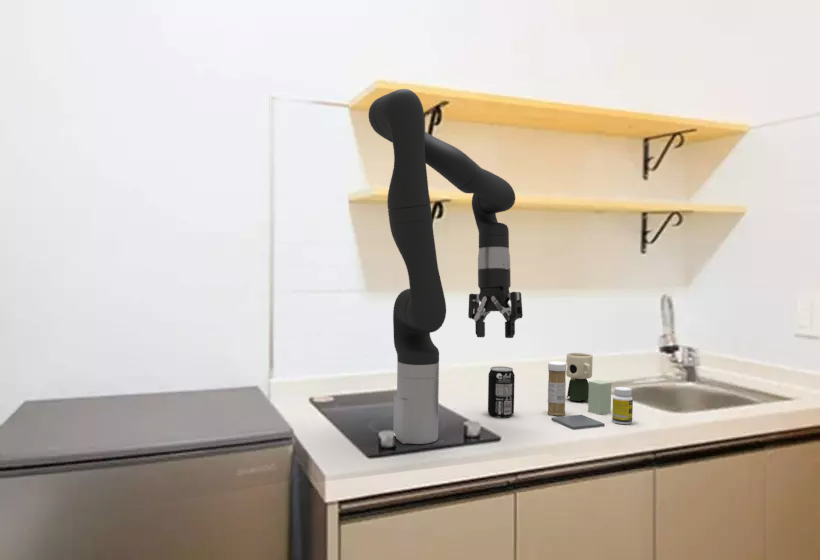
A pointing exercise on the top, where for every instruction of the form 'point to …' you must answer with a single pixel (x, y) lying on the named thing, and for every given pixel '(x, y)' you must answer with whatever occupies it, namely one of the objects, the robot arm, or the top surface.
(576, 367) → the character mug
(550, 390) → the sprinkles bottle
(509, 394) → the beverage can
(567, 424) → the slate coaster
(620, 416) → the supplement bottle
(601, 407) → the sage block
